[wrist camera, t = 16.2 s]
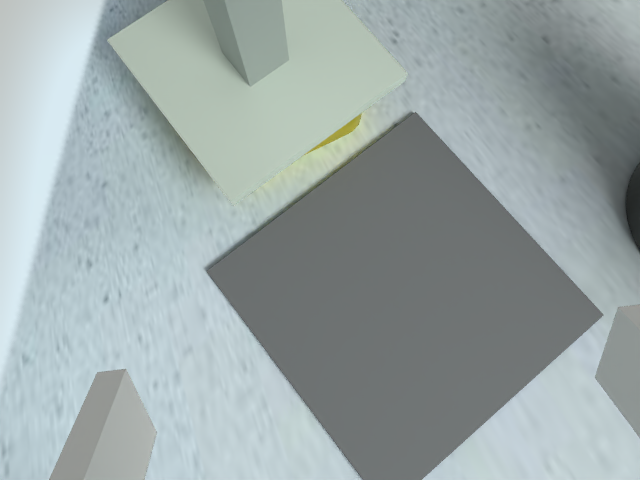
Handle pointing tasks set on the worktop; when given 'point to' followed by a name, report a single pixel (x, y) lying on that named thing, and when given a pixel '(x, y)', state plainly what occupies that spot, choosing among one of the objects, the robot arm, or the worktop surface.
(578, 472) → the worktop surface
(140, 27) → the sage lid
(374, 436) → the rubber mat
